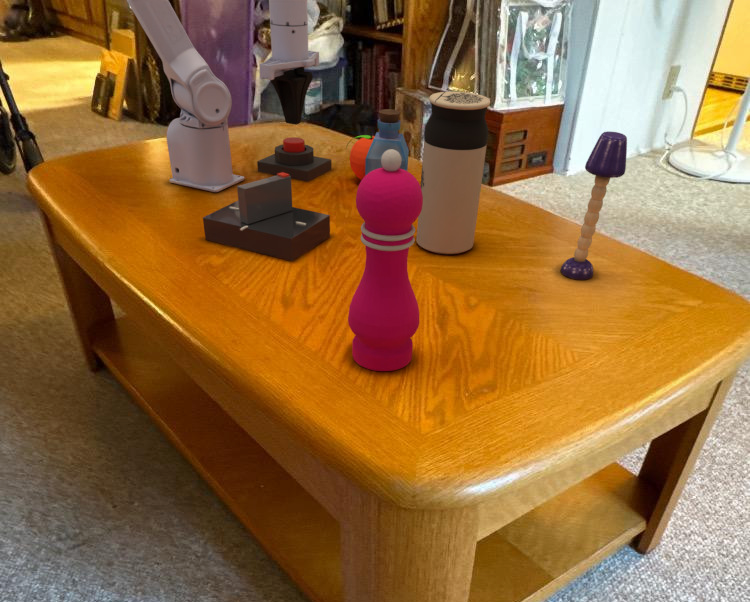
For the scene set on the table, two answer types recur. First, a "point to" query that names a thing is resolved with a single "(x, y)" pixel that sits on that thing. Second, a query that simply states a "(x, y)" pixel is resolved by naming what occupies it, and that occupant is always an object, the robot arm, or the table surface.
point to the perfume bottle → (387, 141)
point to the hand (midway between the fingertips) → (293, 123)
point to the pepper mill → (386, 267)
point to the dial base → (269, 231)
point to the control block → (295, 164)
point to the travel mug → (452, 171)
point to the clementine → (360, 155)
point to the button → (294, 144)
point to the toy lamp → (597, 197)
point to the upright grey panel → (265, 198)
